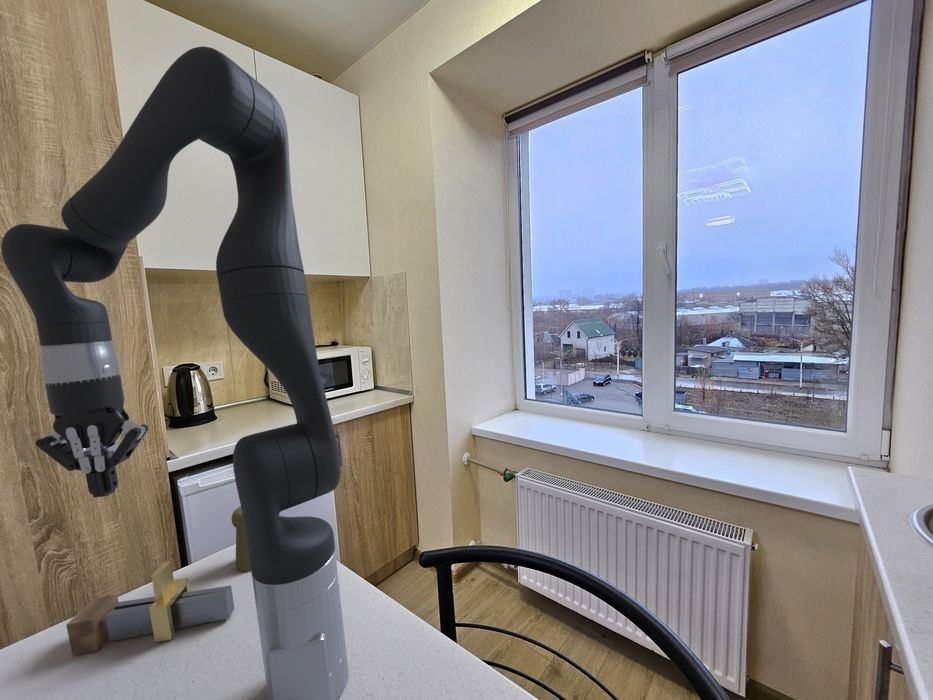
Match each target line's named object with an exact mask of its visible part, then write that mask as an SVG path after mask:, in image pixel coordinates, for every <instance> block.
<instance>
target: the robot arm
mask: <svg viewBox="0 0 933 700" xmlns="http://www.w3.org/2000/svg"><path fill="white" fill-rule="evenodd" d="M284 113H285V112H284V110H283V108H282V106H281V104H280V103H279V102H278V99H276V97H275V96H274V94H272V93H271V91H269V90H268V89H267V88H266V87H265V86H263V84H261V83H260V82H259V81H257V79H255V78H254V77H253V76H251V75H250V73H248V72H246V71H245V70H244V69H243V68H242V67H241V66H239V64H237V63H236V62H235V61H234V60H232V59H231V58H230V57H228V56H227V55H226V54H224V53H223V52H221V51H219V50H217V49H216V48H213V47H208V46H197V47H192V48H190V49H189V50H187V51H185V52H183V54H181V55H180V56H179V57H177V58H176V59H175V61H173V63H172V64H171V65H170V66H169V67H168V69H167V70H166V72H165V73H163V76H161V78H160V80H159V82H158V83H157V84H156V85H155V87H154V89H153V91H152V92H151V93H150V95H149V97H148V99H146V101H145V103H144V104H143V105H142V107H141V109H140V110H139V111H138V113H137V115H136V117H135V118H134V120H133V121H132V123H131V124H130V126H129V128H128V130H127V131H126V133H125V135H124V136H123V138H122V140H121V142H120V143H119V145H118V146H117V148H116V149H115V151H114V152H113V153H112V155H111V156H110V158H109V159H108V161H106V163H105V164H104V165H103V166H102V167H101V168H100V169H99V170H98V171H97V172H96V173H95V175H93V176H92V177H91V178H89V180H88V181H87V182H86V183H84V185H82V186H81V187H80V188H79V189H78V190H77V191H76V192H75V193H73V194H72V196H71V197H70V198H68V199H67V201H66V202H65V203H64V205H63V206H62V209H61V211H60V212H61V213H60V214H61V219H62V222H63V224H64V226H65V227H66V228H60V227H54V226H53V227H52V226H46V225H41V224H34V223H20V224H17V225H14V226H12V227H11V228H9V229H8V230H7V231H6V232H5V233H4V236H2V237H3V238H2V240H1V244H0V245H1V246H0V249H1V250H0V251H1V252H0V253H1V256H2V259H3V262H4V265H5V266H6V268H7V270H8V272H9V273H10V276H11V277H12V279H13V280H14V282H15V283H16V285H17V286H18V288H19V290H20V292H21V294H22V296H23V298H25V301H26V303H27V304H28V307H29V308H30V311H32V314H33V315H34V319H35V323H36V328H37V333H38V340H39V345H40V365H41V371H42V377H43V382H44V386H45V387H44V388H45V392H46V398H47V402H48V408H49V412H50V414H51V415H53V416H54V421H53V423H52V430H51V431H50V432H49V433H48V434H47V435H46V436H43V437H42V438H39V439H36V441H35V446H36V447H38V448H39V449H40V450H41V451H43V452H44V453H45V454H46V455H47V456H49V457H50V458H51V459H53V460H54V461H55V462H56V463H58V464H59V465H60V466H61V467H63V468H64V469H66V470H67V471H69V472H73V471H81V472H82V473H83V474H85V479H86V484H87V489H88V492H89V493H90V495H92V497H93V498H101V497H102V498H104V497H108V496H110V495H112V494H113V493H114V492H115V491H116V489H118V487H119V479H118V473H117V469H116V467H117V466H118V465H119V464H121V463H123V462H125V461H127V460H128V459H130V457H131V456H132V455H133V453H134V452H135V450H136V449H137V448H138V446H139V444H140V443H141V441H142V440H143V439H144V437H145V435H146V434H147V432H148V431H149V426H148V425H147V424H144V423H143V424H140V425H139V424H137V423H136V422H133V421H131V420H130V415H129V414H128V413H127V411H126V410H125V408H124V405H125V396H124V395H125V393H124V389H123V383H122V377H121V371H120V364H119V360H118V355H117V351H116V348H115V346H114V342H113V337H112V332H111V325H110V319H109V315H108V310H107V308H106V306H105V304H103V303H102V302H101V301H100V302H99V301H97V300H93V299H89V298H83V297H81V296H80V297H79V296H78V295H77V296H76V294H74V293H73V292H72V291H71V290H70V289H69V287H68V286H67V284H66V283H83V284H87V283H89V284H90V283H91V284H92V283H97V282H100V281H104V280H105V279H107V278H108V277H111V276H112V275H113V274H114V273H115V272H116V270H117V268H118V266H119V264H120V262H121V260H122V258H123V256H124V254H125V252H126V250H127V248H128V245H129V243H130V242H131V241H132V240H134V238H136V237H137V236H138V235H139V234H141V233H142V232H143V231H144V230H145V229H147V227H149V226H150V225H151V224H153V222H154V221H155V220H156V219H158V217H159V215H160V214H161V213H162V212H163V210H164V208H165V205H166V200H167V196H168V185H169V184H168V182H169V180H168V179H169V178H168V177H169V171H170V167H171V163H172V161H173V160H174V159H175V157H176V156H177V155H178V153H180V152H181V151H182V150H183V149H185V148H186V147H187V146H189V145H190V144H192V143H194V142H197V141H198V140H199V141H201V142H204V143H205V144H207V145H209V146H211V147H213V148H214V149H216V150H219V151H220V152H222V153H224V154H226V155H228V157H229V159H230V162H231V164H232V167H233V172H234V176H235V182H236V190H237V207H236V211H235V213H234V216H233V218H232V219H231V220H232V221H231V223H230V224H229V226H228V229H227V231H226V232H225V234H224V236H223V239H222V240H221V243H220V245H219V248H218V251H217V255H216V259H215V261H216V262H215V269H216V278H217V285H218V290H219V294H220V302H221V308H222V314H223V317H224V320H225V322H226V324H227V326H228V327H229V328H230V330H231V332H233V334H234V335H235V336H236V337H237V338H238V340H239V341H240V342H241V343H242V344H243V345H244V346H245V347H246V348H247V349H248V350H249V351H250V352H251V354H253V355H254V356H255V357H256V358H257V359H258V360H259V361H260V362H261V363H262V364H263V366H265V367H266V368H267V369H268V371H269V372H270V373H272V375H273V376H274V378H276V380H277V381H278V383H280V386H282V388H283V389H284V392H285V393H286V395H287V396H288V399H289V401H290V403H291V406H292V408H293V411H294V415H295V419H296V423H293V424H289V425H285V426H281V427H276V428H272V429H268V430H264V431H260V432H256V433H252V434H249V435H245V436H243V437H241V438H239V439H238V441H237V442H236V444H235V446H234V449H233V453H232V464H233V465H232V466H233V474H234V480H235V487H236V490H237V496H238V499H239V503H240V507H241V509H242V514H243V520H244V525H245V532H246V539H247V545H248V552H249V558H250V566H251V571H250V572H251V578H252V579H251V580H252V585H253V592H254V600H255V602H254V603H255V610H256V616H257V624H258V631H259V632H258V633H259V639H260V647H261V655H262V662H263V671H264V676H265V677H264V678H265V683H266V690H267V691H266V692H267V697H268V700H338V699H339V698H340V696H341V694H342V693H343V692H344V690H345V688H346V685H347V682H348V679H349V666H348V655H347V648H346V638H345V630H344V629H345V628H344V620H343V619H344V618H343V611H342V610H343V609H342V602H341V600H342V599H341V592H340V584H339V582H340V581H339V573H338V563H337V554H336V543H335V534H334V530H333V528H332V525H331V524H330V523H329V522H327V520H325V519H323V518H320V517H316V516H306V515H305V516H284V515H283V516H282V515H280V513H281V512H283V511H285V510H288V509H291V508H294V507H296V506H298V505H301V504H305V503H306V502H309V501H312V500H315V499H317V498H319V497H321V496H324V495H326V494H329V493H331V492H333V491H334V490H335V489H336V488H337V487H338V485H339V483H340V480H341V473H342V472H341V470H342V468H341V467H342V466H341V465H342V464H341V456H340V449H339V443H338V440H337V437H336V432H335V428H334V424H333V419H332V415H331V411H330V408H329V405H328V403H329V402H328V399H327V395H326V391H325V388H324V383H323V379H322V376H321V375H322V374H321V371H320V366H319V359H318V354H317V348H316V342H315V337H314V329H313V322H312V316H311V307H310V300H309V294H308V287H307V282H306V275H305V269H304V265H303V259H302V255H301V250H300V244H299V239H298V238H299V237H298V231H297V224H296V223H297V222H296V217H295V216H296V215H295V209H294V203H293V195H292V184H291V183H292V182H291V181H292V180H291V165H290V149H289V148H290V146H289V145H290V144H289V137H288V135H289V134H288V125H287V120H286V117H285V114H284ZM120 436H121V438H123V439H122V440H121V442H120V443H119V438H120Z"/></svg>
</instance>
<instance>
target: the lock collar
mask: <svg viewBox="0 0 933 700" xmlns="http://www.w3.org/2000/svg"><path fill="white" fill-rule="evenodd" d="M172 566H173V565H172V561H171V560H170V561H164V562H162V563H161V565H160V566H158V567H157V569H156V570H155V571H154V572H153V573H152V574H151V580H152V581H151V582H152V586H153V587H152V588H153V592H154V593H153V594H154V597H155V600H156V601H155V602H154V603H153V604H152V605H151V607H150V608H149V611H150V616H151V622H152V628H153V633H152V634H153V640H154V643H158V642H164V641H169V640H172V639H174V637H175V636H176V634H175V629H174V627H173V621H172V615H171V609H170V606H171V605H172V603H173V602H174V601H175V599H176V598H177V597H178V596H179V594H180V593H183V592H190V591H191V585H190V580H189V579H190V578H189V577H188V576H187V577H182V578H174V572H173V567H172Z"/></svg>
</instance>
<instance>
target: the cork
mask: <svg viewBox="0 0 933 700" xmlns="http://www.w3.org/2000/svg"><path fill="white" fill-rule="evenodd" d="M231 524H232V526H233V527H234V528H235V529H236V530H235V570H236V571H237V572H240V573H249V572H251V566H250V558H249V552H248V545H247V539H246V532H245V525H244V520H243V514H242V509H241V506H238V507H237V508H236V509H235V510H234V511H233V512H232V515H231ZM248 571H249V572H248Z"/></svg>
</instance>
